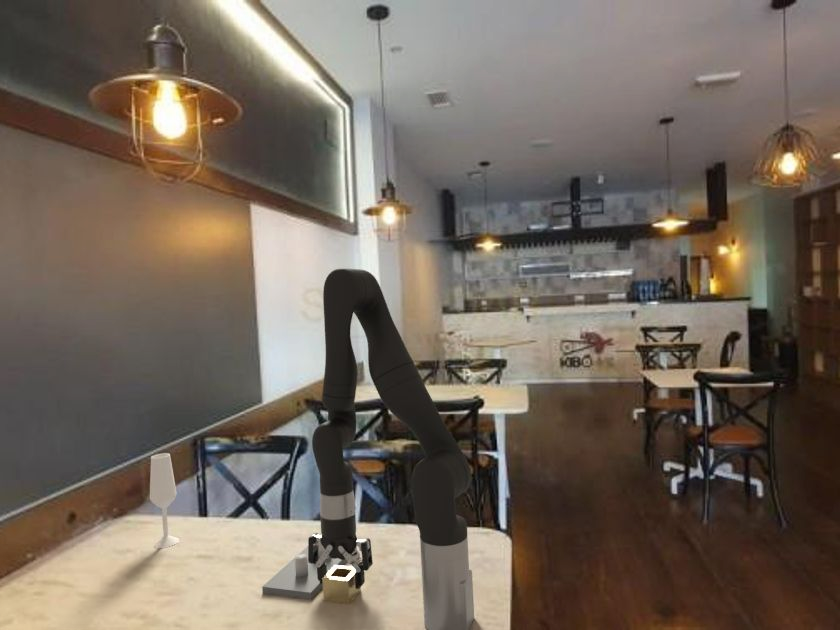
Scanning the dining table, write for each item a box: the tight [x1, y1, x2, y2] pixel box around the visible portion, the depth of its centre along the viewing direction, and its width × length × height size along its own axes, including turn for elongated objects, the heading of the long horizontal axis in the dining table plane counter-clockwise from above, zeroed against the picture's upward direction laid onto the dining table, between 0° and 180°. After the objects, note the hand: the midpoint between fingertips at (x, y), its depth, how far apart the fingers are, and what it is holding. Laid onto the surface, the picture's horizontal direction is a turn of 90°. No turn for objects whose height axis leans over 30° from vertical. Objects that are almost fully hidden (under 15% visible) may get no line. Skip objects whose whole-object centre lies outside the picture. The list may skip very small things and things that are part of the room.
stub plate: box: [261, 534, 358, 600], centre depth 136 cm, size 12×24×6 cm, turn 162°
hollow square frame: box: [322, 565, 362, 605], centre depth 124 cm, size 6×6×5 cm
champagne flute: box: [149, 452, 180, 549], centre depth 156 cm, size 7×7×24 cm
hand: (341, 584), depth 125 cm, fingers open, 8 cm apart
